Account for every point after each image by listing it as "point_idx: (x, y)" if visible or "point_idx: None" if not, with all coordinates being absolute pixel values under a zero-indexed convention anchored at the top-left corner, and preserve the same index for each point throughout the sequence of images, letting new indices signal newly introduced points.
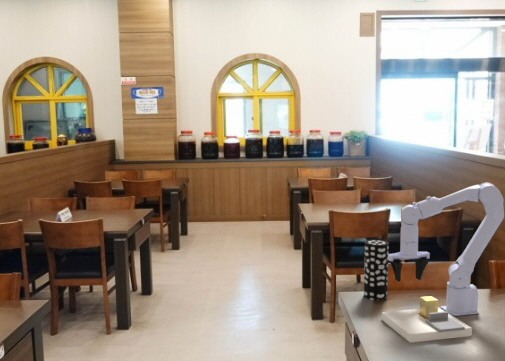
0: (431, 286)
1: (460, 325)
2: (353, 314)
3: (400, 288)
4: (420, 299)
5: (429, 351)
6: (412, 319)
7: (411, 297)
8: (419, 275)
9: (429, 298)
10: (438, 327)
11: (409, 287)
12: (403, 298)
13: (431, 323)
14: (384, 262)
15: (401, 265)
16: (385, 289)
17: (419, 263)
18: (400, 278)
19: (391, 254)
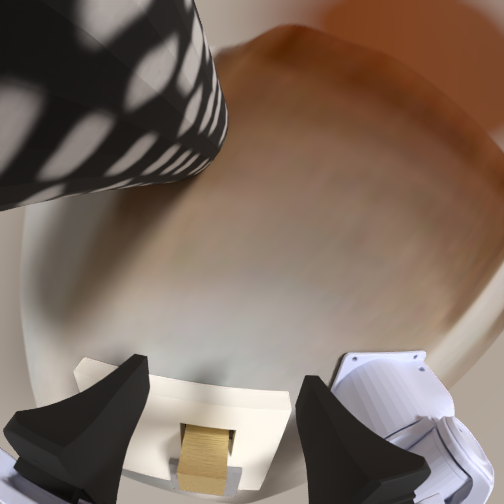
0: (477, 132)
1: (232, 492)
2: (24, 284)
3: (363, 74)
4: (178, 468)
5: (137, 474)
6: (143, 438)
7: (334, 201)
8: (300, 430)
9: (203, 485)
10: (175, 485)
11: (406, 87)
12: (288, 197)
13: (171, 475)
14: (41, 201)
15: (110, 497)
16: (175, 178)
17: (321, 500)
18: (143, 407)
19: (2, 497)
